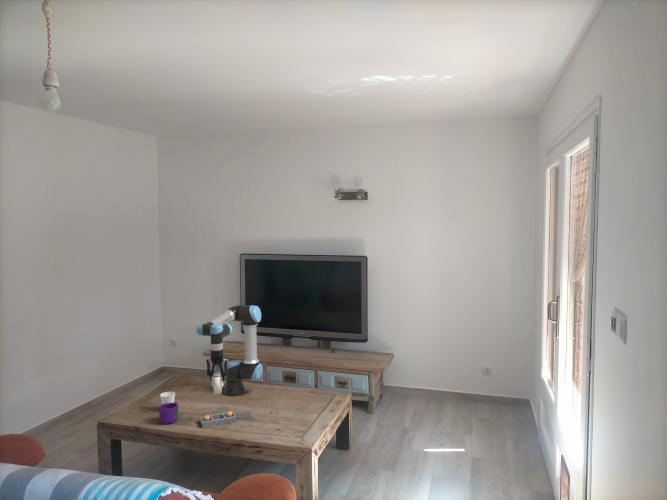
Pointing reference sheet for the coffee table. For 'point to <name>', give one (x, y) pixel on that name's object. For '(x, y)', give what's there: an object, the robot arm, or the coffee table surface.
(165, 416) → the mug
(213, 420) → the tray
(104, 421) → the coffee table surface
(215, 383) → the cylinder
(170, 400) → the cup
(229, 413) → the orange oval ball
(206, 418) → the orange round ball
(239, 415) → the mat
